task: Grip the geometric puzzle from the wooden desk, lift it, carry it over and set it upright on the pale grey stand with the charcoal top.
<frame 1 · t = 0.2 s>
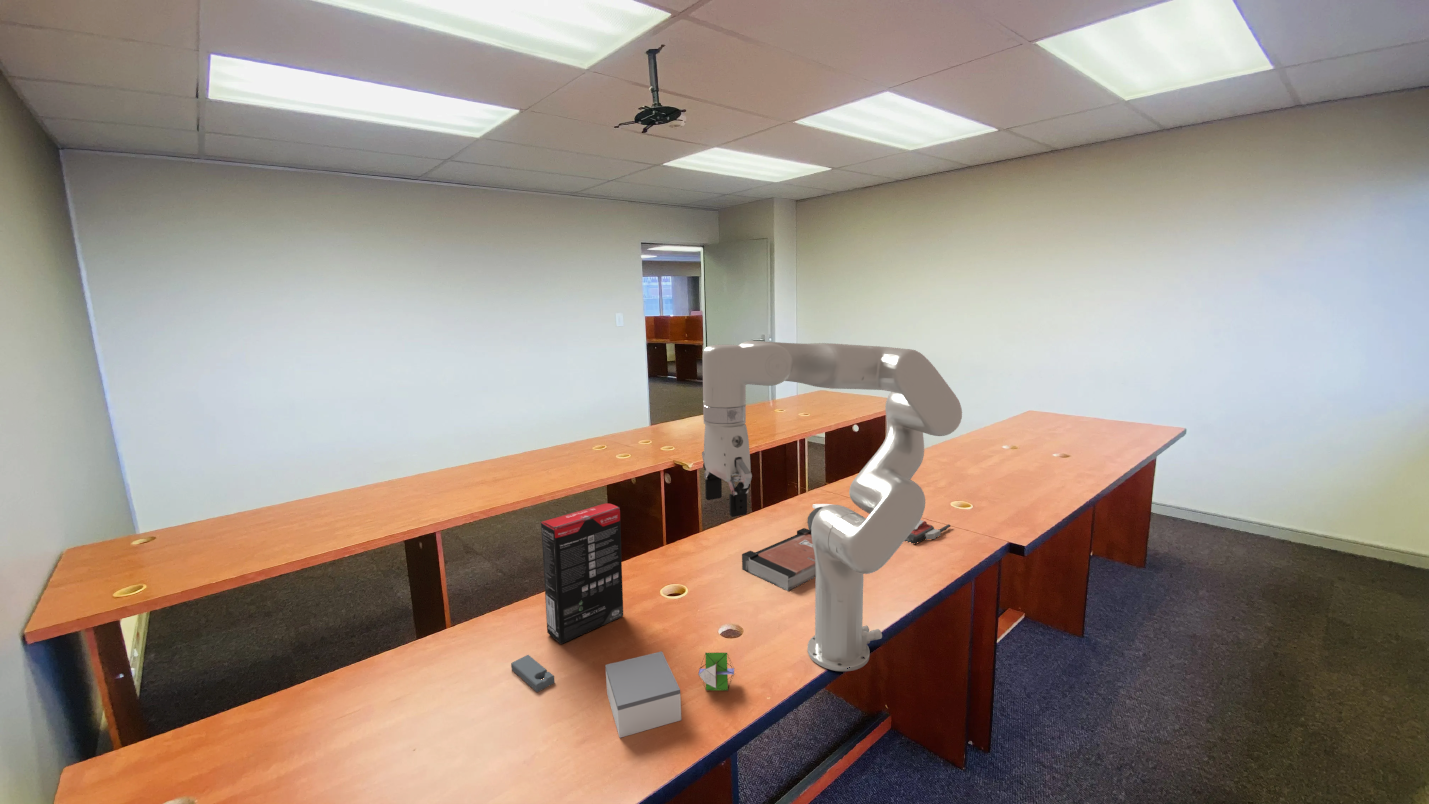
hand: (725, 506, 103), 36 cm above the table, tool pointing down, fingers open, 9 cm apart
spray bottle: (823, 521, 190), on the table
bracket: (533, 678, 113), on the table
geometric puzzle: (716, 687, 109), on the table
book: (797, 567, 158), on the table
graphics card box: (588, 626, 130), on the table
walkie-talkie: (923, 535, 177), on the table
grey stand: (642, 706, 104), on the table
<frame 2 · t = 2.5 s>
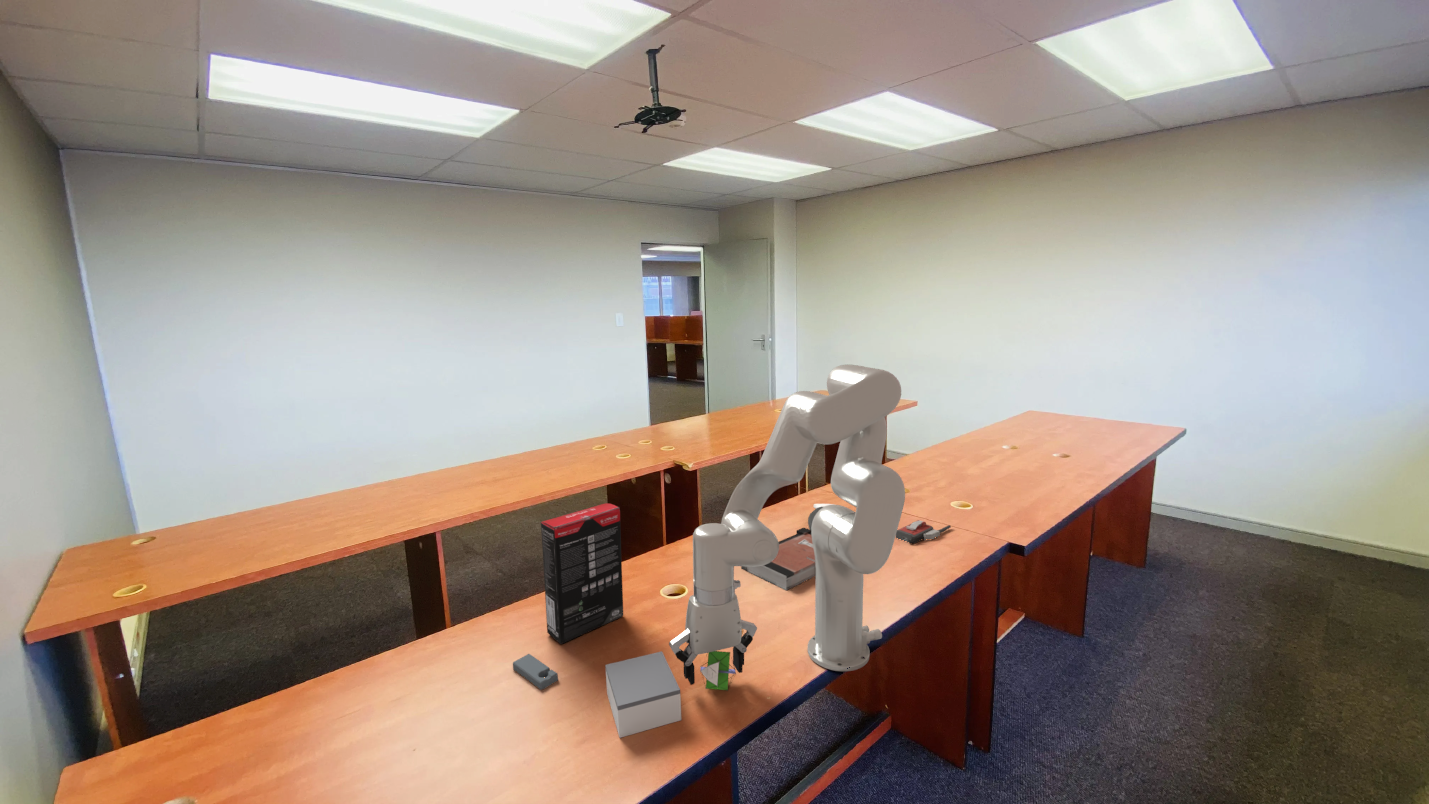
hand: (714, 674, 108), 3 cm above the table, tool pointing down, fingers open, 9 cm apart
geometric puzzle: (716, 686, 109), on the table, touching gripper
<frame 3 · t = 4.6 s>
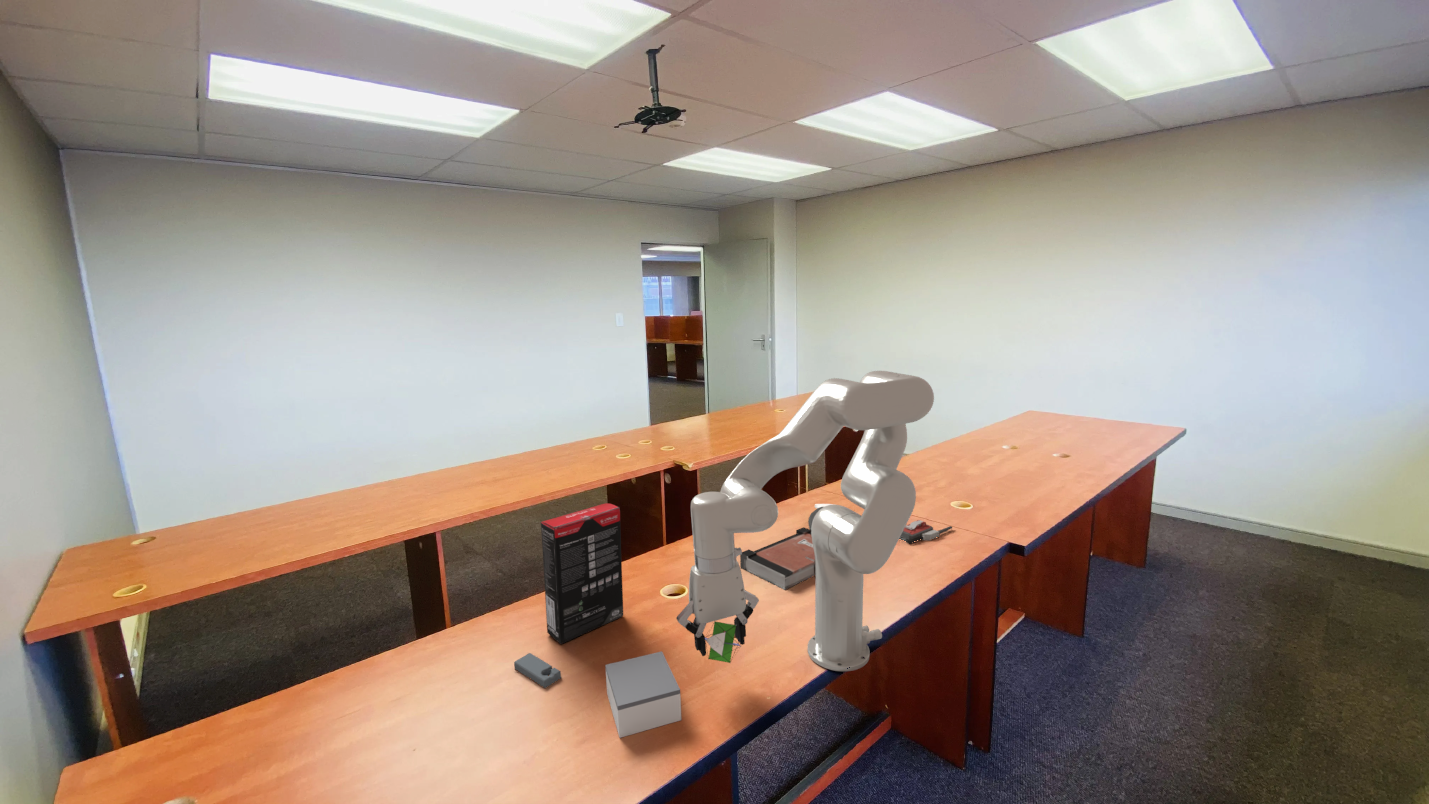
hand: (721, 645, 108), 8 cm above the table, tool pointing down, fingers closed on geometric puzzle, 7 cm apart
geometric puzzle: (718, 658, 108), point 6 cm above the table, touching gripper
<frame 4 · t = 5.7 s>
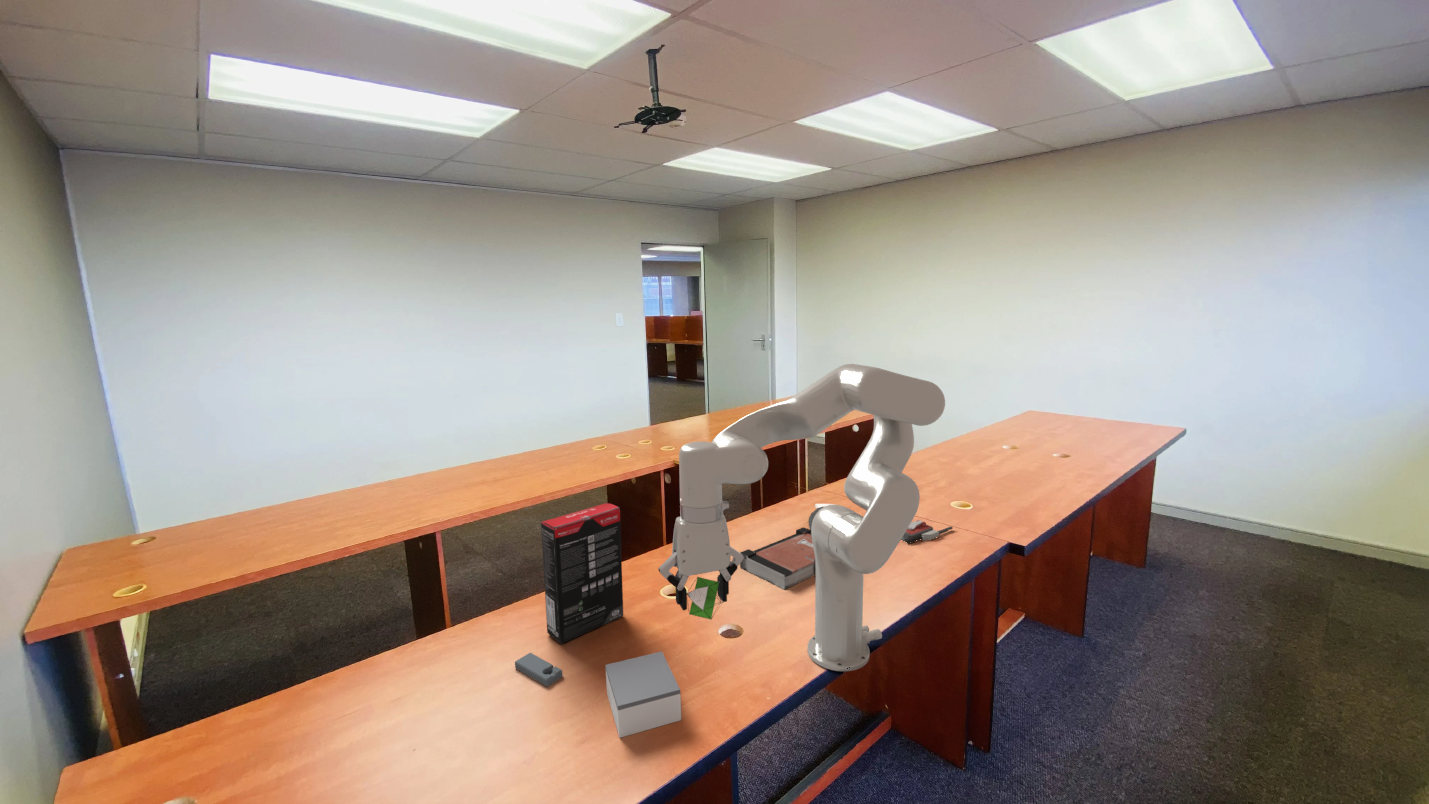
hand: (702, 601, 105), 18 cm above the table, tool pointing down, fingers closed on geometric puzzle, 7 cm apart
geometric puzzle: (699, 615, 105), point 15 cm above the table, touching gripper
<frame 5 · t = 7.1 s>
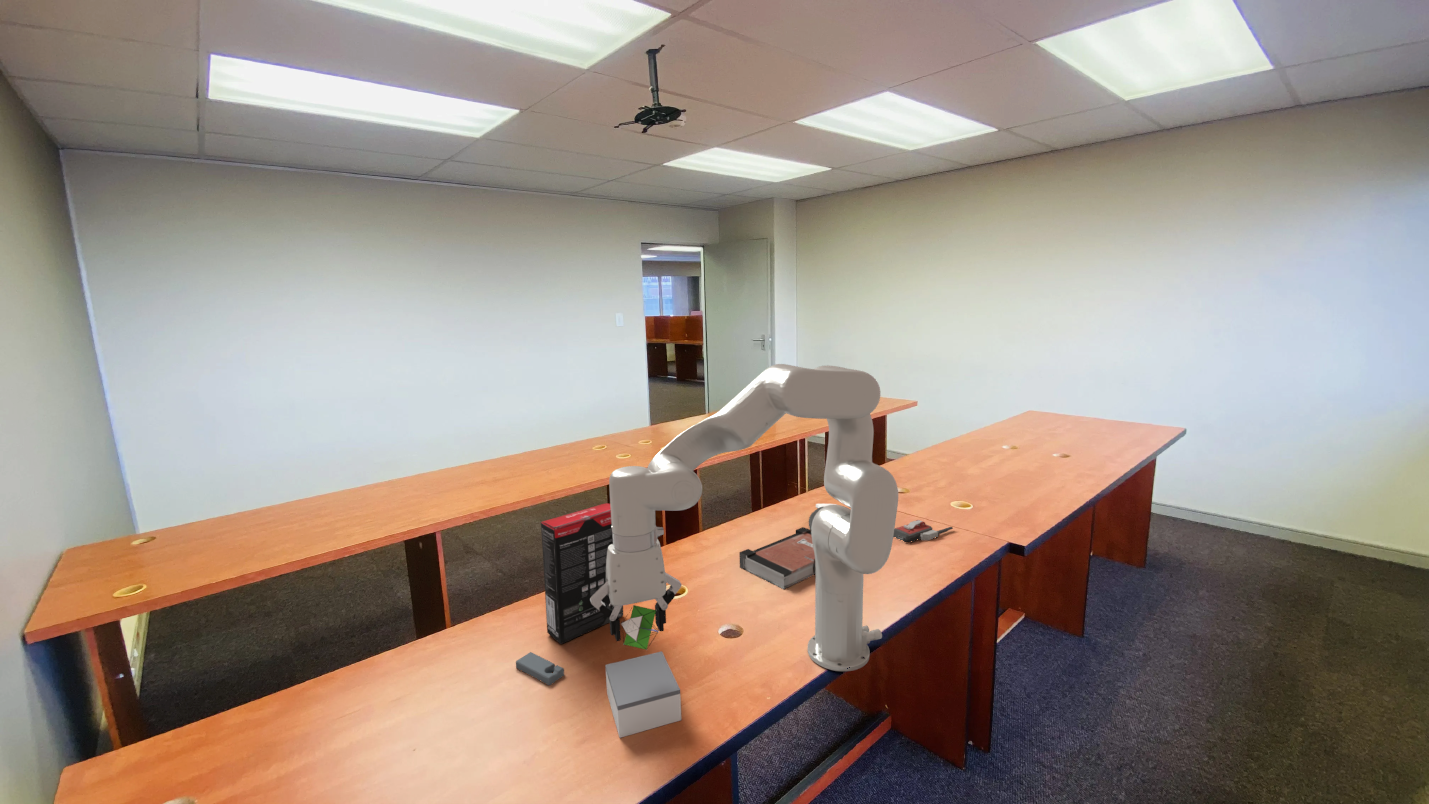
hand: (638, 631, 101), 15 cm above the table, tool pointing down, fingers closed on geometric puzzle, 7 cm apart
geometric puzzle: (635, 645, 101), point 13 cm above the table, touching gripper
when the fingers open (9 cm above the table, at t = 8.7 s): geometric puzzle stays where it is, resting on grey stand.
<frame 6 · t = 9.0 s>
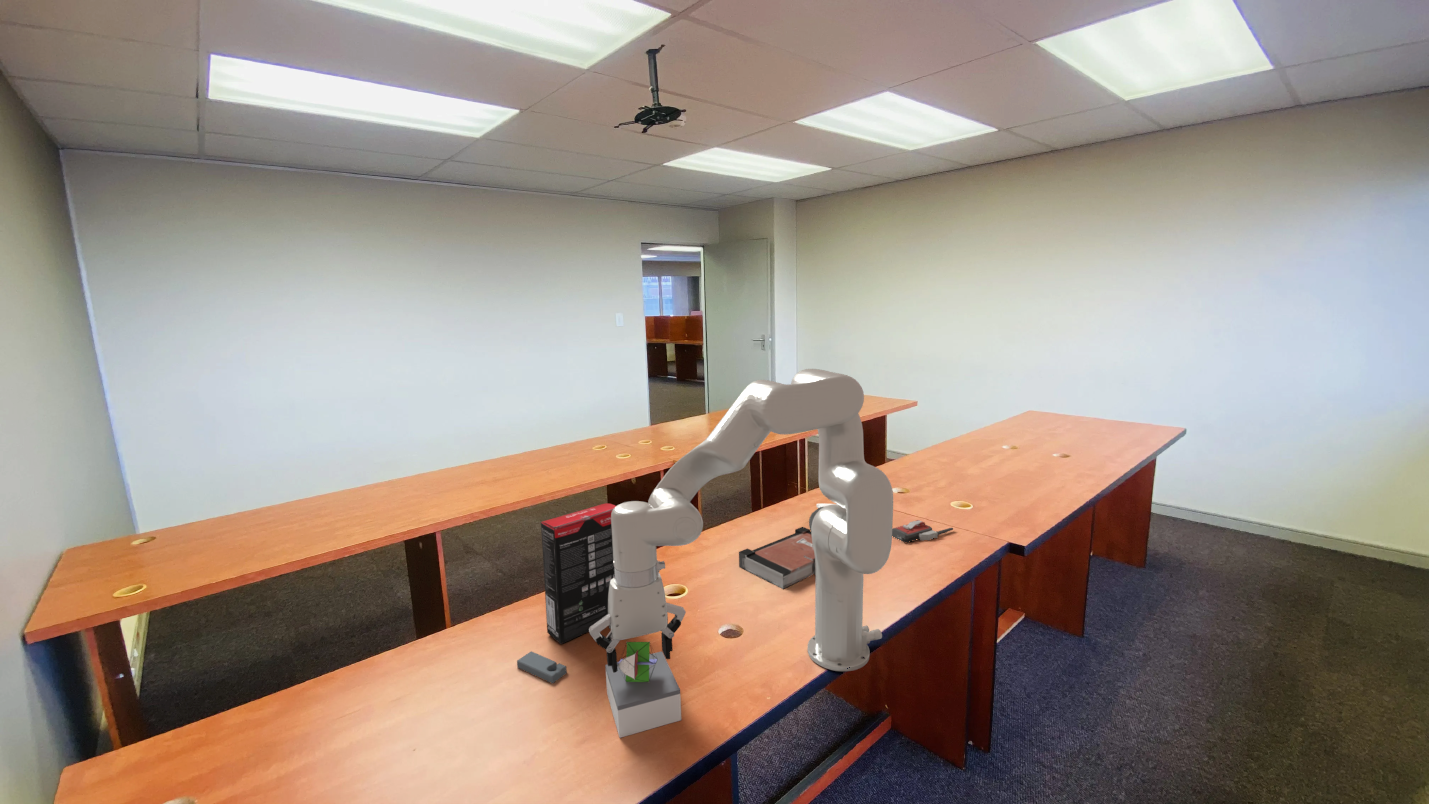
hand: (640, 661, 102), 9 cm above the table, tool pointing down, fingers open, 9 cm apart
geometric puzzle: (638, 678, 102), point 6 cm above the table, touching grey stand, gripper
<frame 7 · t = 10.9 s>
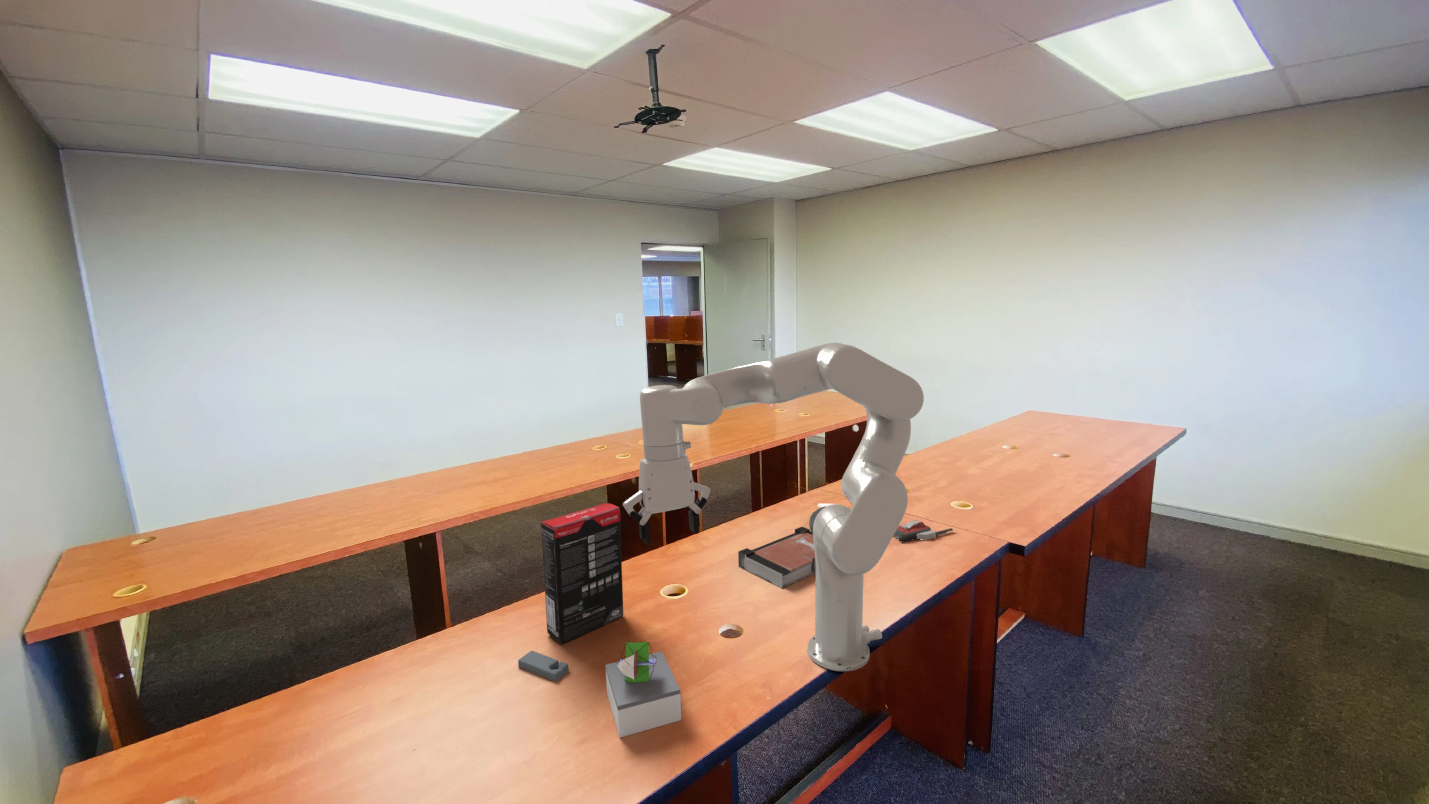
hand: (670, 536, 110), 28 cm above the table, tool pointing down, fingers open, 9 cm apart
geometric puzzle: (638, 679, 102), point 6 cm above the table, touching grey stand
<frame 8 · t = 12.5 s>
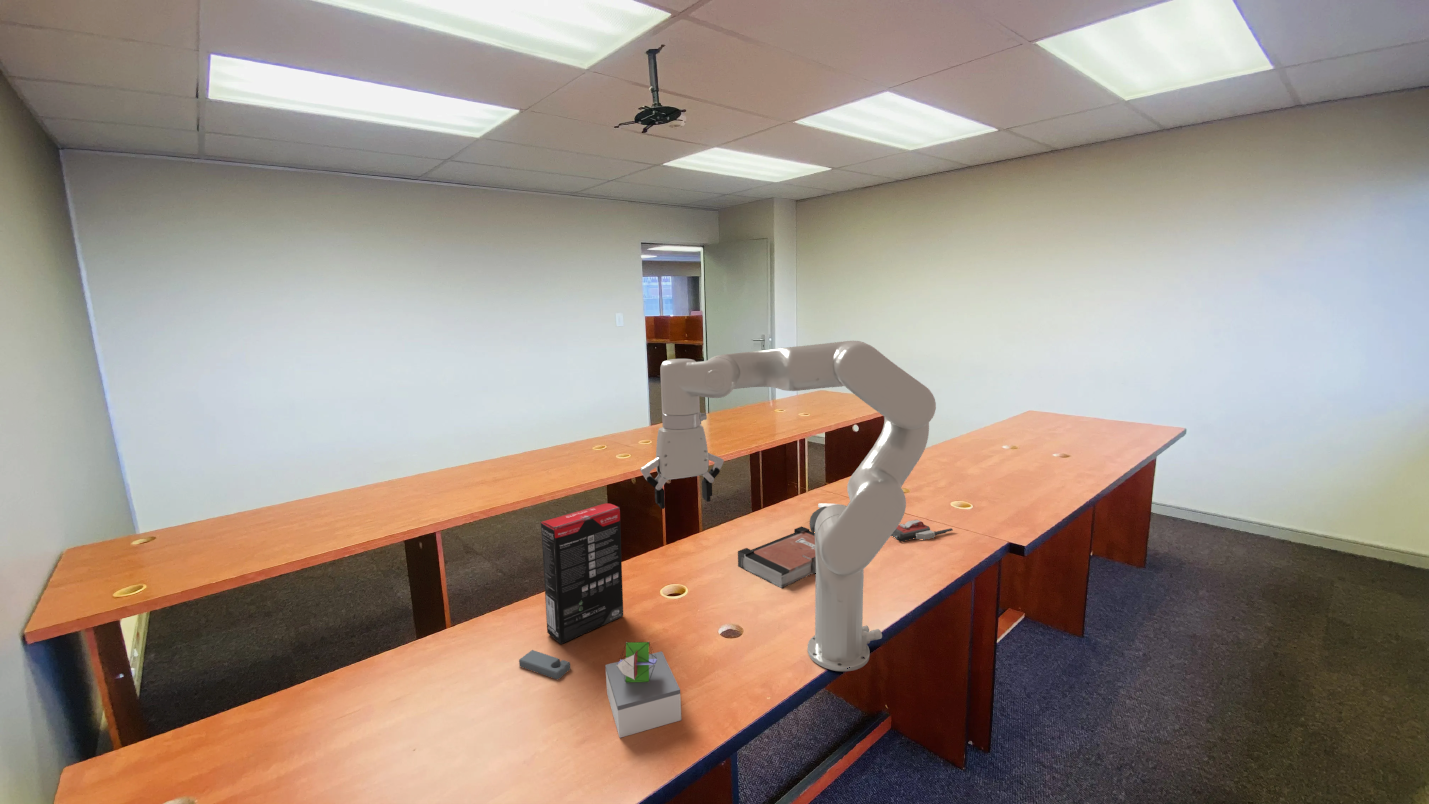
hand: (684, 503, 116), 32 cm above the table, tool pointing down, fingers open, 9 cm apart
at the end: geometric puzzle inside the target area on the grey stand (0.6 cm from its centre), point 5.8 cm above the grey stand's base; geometric puzzle tilted 1°; the gripper is holding nothing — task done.
